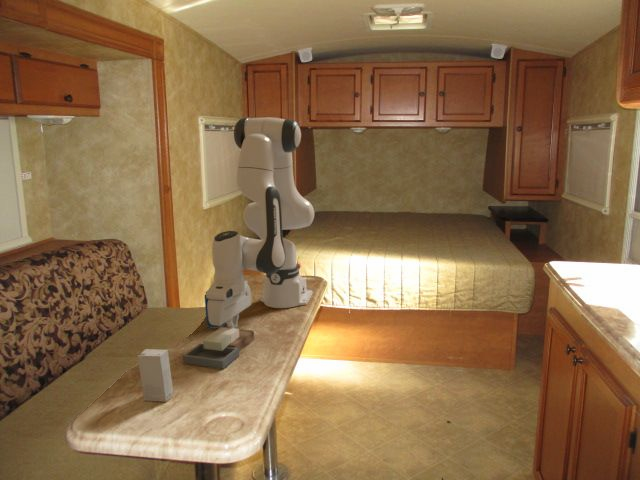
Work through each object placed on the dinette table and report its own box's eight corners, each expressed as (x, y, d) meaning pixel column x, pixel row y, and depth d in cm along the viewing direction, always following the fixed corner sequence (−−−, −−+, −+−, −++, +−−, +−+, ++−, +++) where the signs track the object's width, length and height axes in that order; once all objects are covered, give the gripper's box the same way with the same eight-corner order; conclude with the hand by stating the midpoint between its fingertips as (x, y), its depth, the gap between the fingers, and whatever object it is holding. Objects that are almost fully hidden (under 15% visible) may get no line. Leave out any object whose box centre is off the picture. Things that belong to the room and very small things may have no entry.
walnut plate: (226, 336, 166) (225, 327, 165) (254, 339, 162) (253, 330, 162) (205, 351, 155) (204, 342, 154) (235, 355, 151) (234, 345, 151)
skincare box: (174, 394, 130) (169, 348, 127) (165, 403, 125) (161, 356, 123) (151, 392, 131) (146, 347, 128) (142, 401, 127) (137, 355, 124)
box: (200, 351, 155) (200, 343, 155) (239, 356, 151) (238, 348, 150) (183, 363, 147) (182, 355, 146) (223, 369, 142) (222, 361, 142)
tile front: (213, 340, 155) (212, 332, 154) (230, 342, 153) (229, 334, 152) (204, 348, 150) (202, 340, 150) (222, 350, 148) (221, 343, 147)
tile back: (222, 334, 159) (221, 326, 159) (239, 336, 157) (238, 328, 157) (213, 340, 155) (212, 332, 154) (231, 343, 153) (230, 335, 152)
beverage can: (222, 329, 172) (219, 294, 169) (203, 328, 173) (200, 294, 170) (229, 322, 178) (226, 289, 175) (211, 321, 179) (208, 288, 177)
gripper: (237, 275, 167) (240, 316, 170) (202, 294, 148) (206, 340, 151) (255, 277, 165) (257, 318, 168) (221, 296, 146) (225, 342, 149)
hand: (232, 329), depth 159 cm, fingers closed
